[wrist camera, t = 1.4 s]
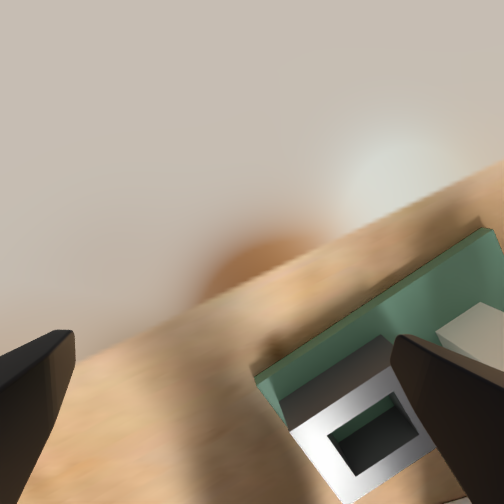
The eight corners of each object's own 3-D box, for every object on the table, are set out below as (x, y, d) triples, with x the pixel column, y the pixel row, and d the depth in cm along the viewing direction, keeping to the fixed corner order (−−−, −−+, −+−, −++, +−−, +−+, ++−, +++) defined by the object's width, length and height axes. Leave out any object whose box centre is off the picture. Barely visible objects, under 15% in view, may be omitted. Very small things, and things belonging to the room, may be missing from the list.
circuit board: (532, 347, 27) (544, 353, 26) (330, 480, 27) (335, 491, 26) (481, 227, 24) (493, 229, 23) (254, 377, 24) (256, 385, 23)
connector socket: (423, 408, 26) (451, 437, 23) (329, 470, 26) (345, 507, 23) (380, 334, 24) (405, 355, 21) (278, 401, 24) (289, 432, 21)
